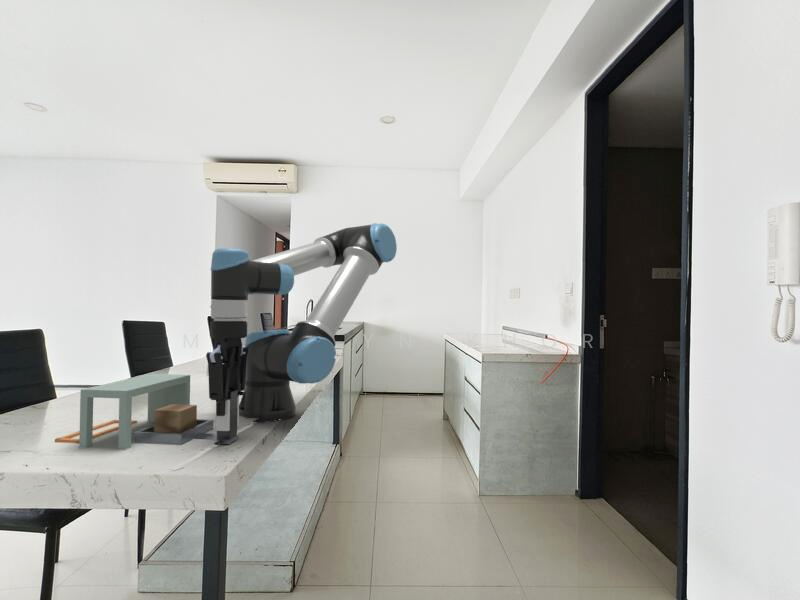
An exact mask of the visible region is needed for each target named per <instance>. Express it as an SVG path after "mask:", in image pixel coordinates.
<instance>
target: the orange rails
mask: <svg viewBox="0 0 800 600" xmlns="http://www.w3.org/2000/svg"><path fill="white" fill-rule="evenodd" d="M137 423H138V420H132V419H131V426H132V425H136V424H137ZM114 424H119V419H112V420H110V421H106V422H104V423H101V424H97V425H93V431H96V430H99V429H102V428H104V427H108V426H111V425H114ZM116 431H119V425H117V426H113V427H110V428H108V429H106V430H102V431H99V432H96V433H94V434H93V435H92V440H94V439H96V438H99V437H102V436H105V435H107V434H110V433H113V432H116ZM78 436H80V430H79V431H76V432H73V433H70V434H67V435H63V436H61V437H57V438H55V439H54V442H55V443H65V444H67V443H69V444H71V443H72V444H79V438H77V437H78Z"/></svg>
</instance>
